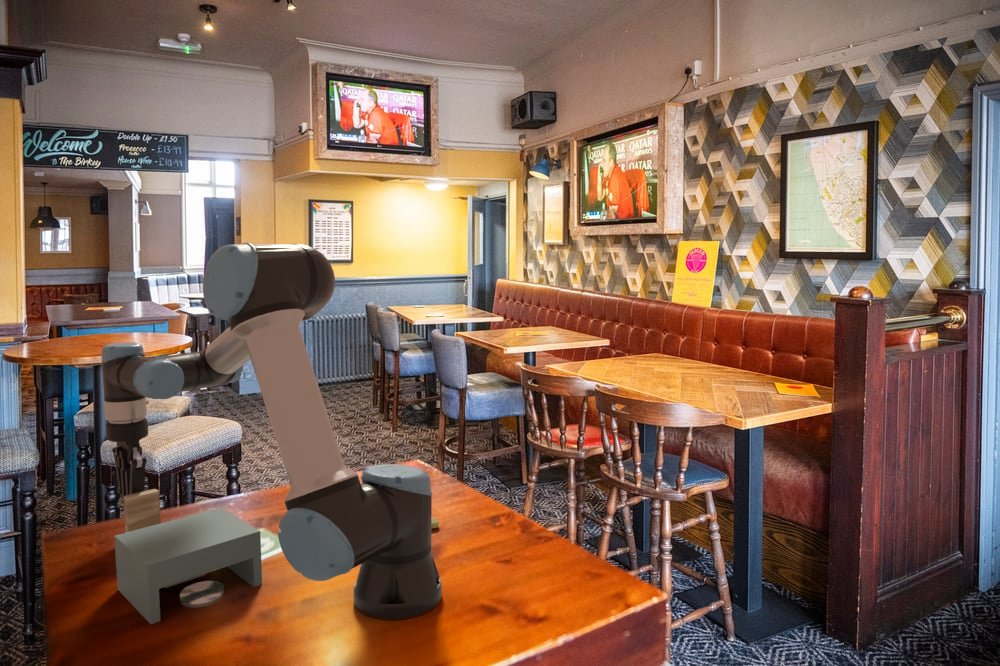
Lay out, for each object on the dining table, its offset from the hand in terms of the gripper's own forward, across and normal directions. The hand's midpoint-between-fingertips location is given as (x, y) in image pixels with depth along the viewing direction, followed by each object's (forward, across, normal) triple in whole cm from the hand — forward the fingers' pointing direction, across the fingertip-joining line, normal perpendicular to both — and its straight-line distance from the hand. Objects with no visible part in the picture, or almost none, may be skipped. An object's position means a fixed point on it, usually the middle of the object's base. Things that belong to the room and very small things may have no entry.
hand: (133, 530), depth 144 cm
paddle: (+2, -16, 0) cm, 16 cm away
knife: (+2, -30, -41) cm, 51 cm away
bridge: (+2, -29, 0) cm, 29 cm away
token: (+2, -34, 0) cm, 34 cm away
